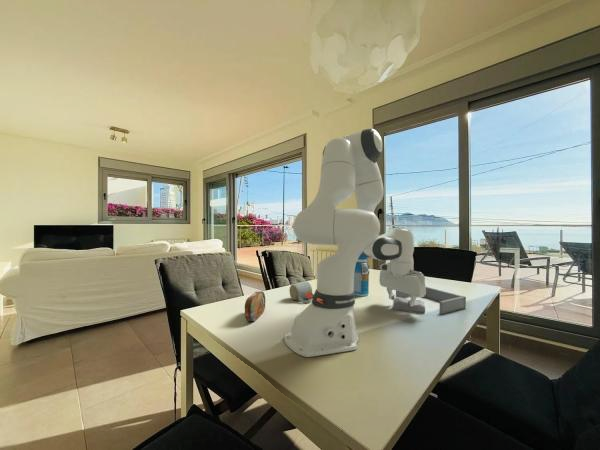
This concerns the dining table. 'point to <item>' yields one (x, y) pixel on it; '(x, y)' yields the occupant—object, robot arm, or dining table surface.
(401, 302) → the stone block
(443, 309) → the box
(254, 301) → the tin
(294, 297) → the ceramic mug
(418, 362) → the dining table surface
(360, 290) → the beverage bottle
